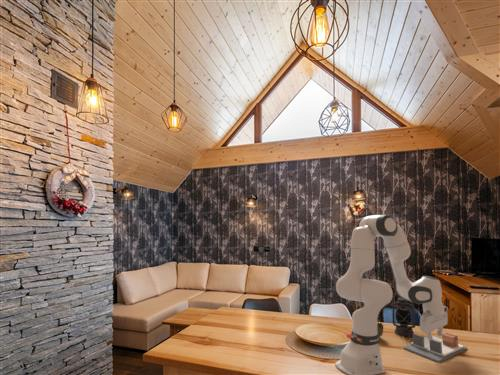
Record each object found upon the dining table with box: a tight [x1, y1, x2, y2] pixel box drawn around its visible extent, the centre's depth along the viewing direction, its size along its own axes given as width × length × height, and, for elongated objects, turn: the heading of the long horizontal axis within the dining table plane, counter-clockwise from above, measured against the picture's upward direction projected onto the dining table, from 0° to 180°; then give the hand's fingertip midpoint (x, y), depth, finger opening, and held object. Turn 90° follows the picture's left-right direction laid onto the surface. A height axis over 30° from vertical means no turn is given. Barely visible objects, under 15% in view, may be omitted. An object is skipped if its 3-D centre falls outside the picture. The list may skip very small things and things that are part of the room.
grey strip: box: [410, 332, 443, 350], centre depth 156 cm, size 20×8×6 cm, turn 121°
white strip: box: [427, 339, 465, 357], centre depth 148 cm, size 20×8×6 cm, turn 121°
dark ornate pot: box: [377, 321, 384, 340], centre depth 165 cm, size 8×7×8 cm
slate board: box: [403, 344, 468, 364], centre depth 150 cm, size 28×17×1 cm, turn 121°
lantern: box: [390, 292, 416, 338], centre depth 173 cm, size 12×11×30 cm
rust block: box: [441, 332, 459, 348], centre depth 151 cm, size 5×5×5 cm
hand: (434, 337), depth 145 cm, fingers open, 8 cm apart
